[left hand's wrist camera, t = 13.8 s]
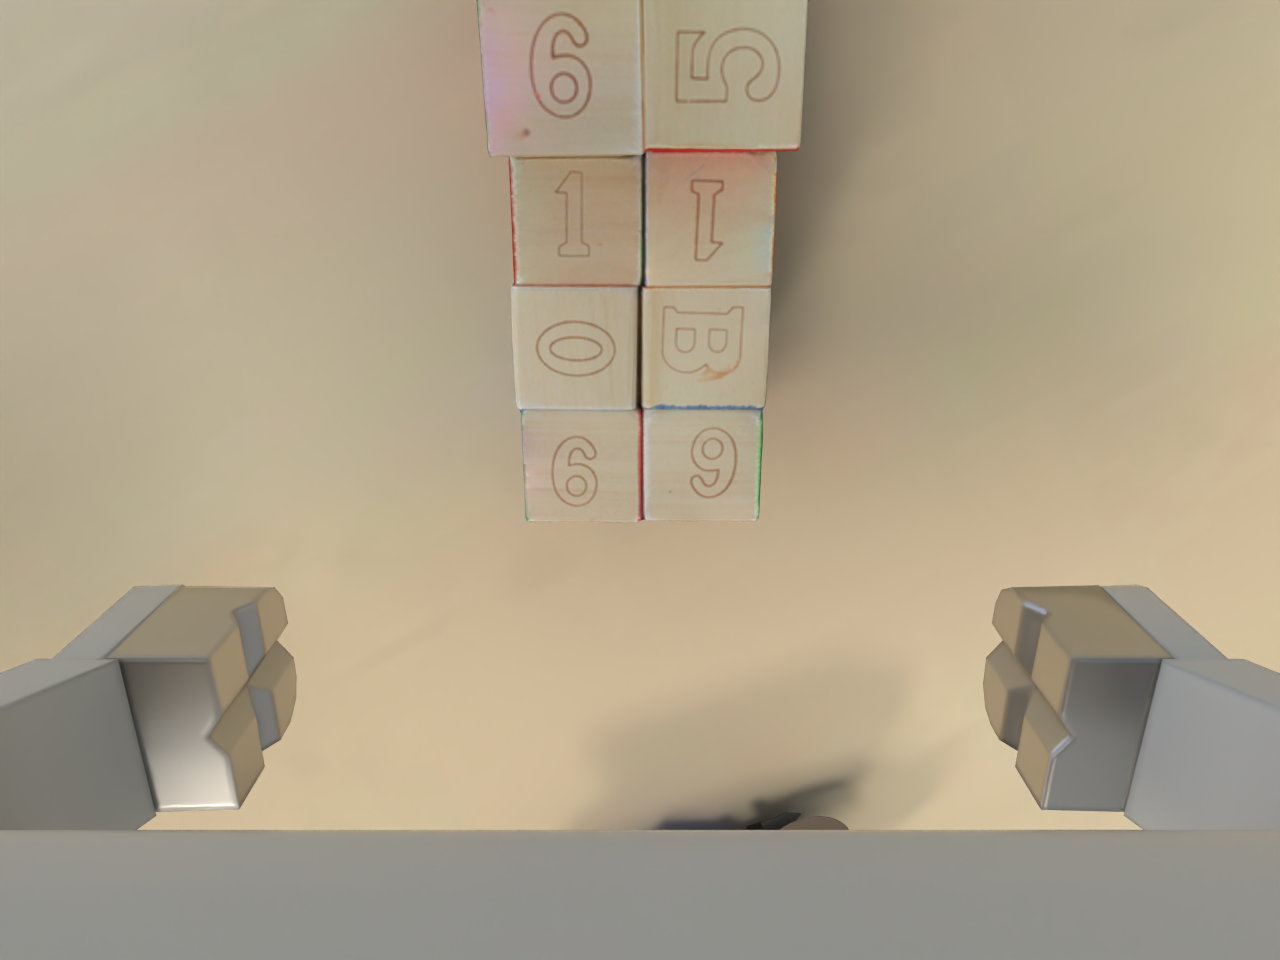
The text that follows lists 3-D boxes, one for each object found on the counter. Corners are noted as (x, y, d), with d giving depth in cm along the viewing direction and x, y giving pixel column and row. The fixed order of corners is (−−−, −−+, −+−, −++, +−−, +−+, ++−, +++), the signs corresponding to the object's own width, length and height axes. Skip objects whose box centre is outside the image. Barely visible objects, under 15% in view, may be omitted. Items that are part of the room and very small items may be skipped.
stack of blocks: (726, 420, 32) (775, 583, 20) (550, 419, 32) (499, 581, 20) (761, -339, 24) (870, -770, 13) (528, -342, 24) (426, -775, 13)
